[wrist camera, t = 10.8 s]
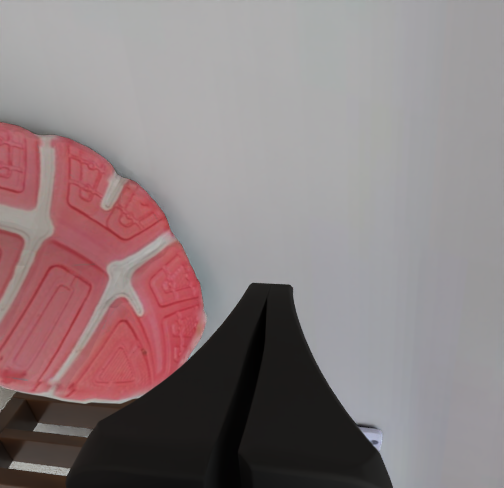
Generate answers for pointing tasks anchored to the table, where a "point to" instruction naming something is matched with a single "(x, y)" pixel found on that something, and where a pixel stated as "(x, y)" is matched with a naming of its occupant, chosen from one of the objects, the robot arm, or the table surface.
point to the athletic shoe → (87, 277)
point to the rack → (44, 437)
